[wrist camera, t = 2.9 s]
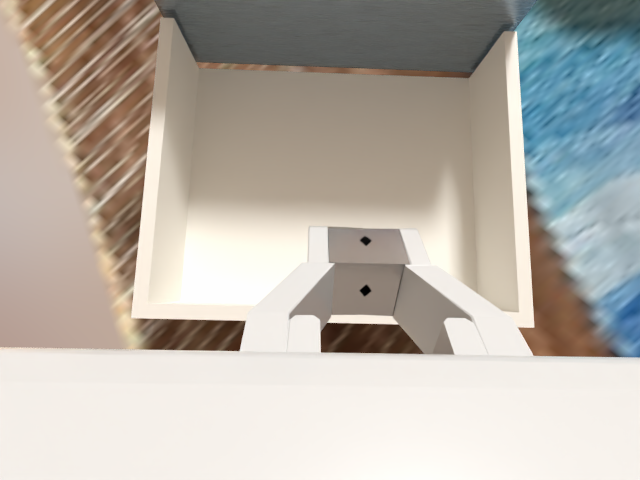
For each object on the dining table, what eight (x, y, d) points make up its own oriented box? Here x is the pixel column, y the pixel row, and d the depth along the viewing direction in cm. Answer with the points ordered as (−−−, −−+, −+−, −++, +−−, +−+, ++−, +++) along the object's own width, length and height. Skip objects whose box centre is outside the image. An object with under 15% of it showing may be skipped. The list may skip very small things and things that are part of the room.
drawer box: (476, 318, 27) (534, 327, 20) (178, 311, 26) (131, 318, 19) (468, 93, 29) (516, 31, 22) (196, 83, 29) (160, 17, 22)
